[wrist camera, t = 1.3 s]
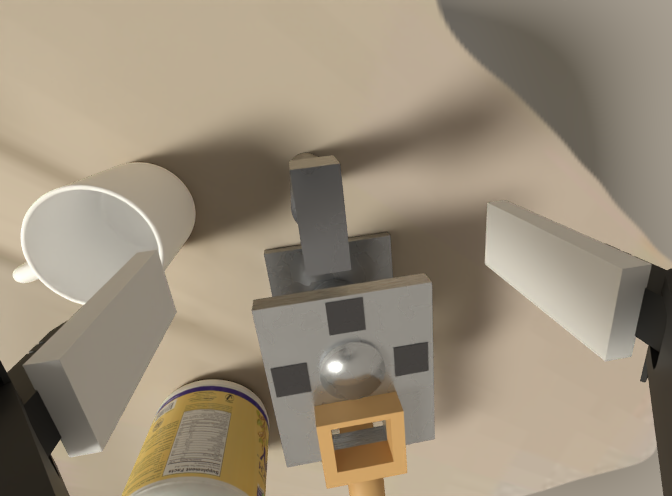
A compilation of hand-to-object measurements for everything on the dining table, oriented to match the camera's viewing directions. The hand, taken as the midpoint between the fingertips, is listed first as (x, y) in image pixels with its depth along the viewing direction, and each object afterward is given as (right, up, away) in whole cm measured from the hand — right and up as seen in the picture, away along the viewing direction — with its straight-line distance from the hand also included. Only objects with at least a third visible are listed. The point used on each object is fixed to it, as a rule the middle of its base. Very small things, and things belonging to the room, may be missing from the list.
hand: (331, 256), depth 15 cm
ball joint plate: (0, -6, +24) cm, 25 cm away
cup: (-18, +3, +18) cm, 26 cm away
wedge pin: (-3, +7, +18) cm, 20 cm away
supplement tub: (-13, -19, +27) cm, 36 cm away
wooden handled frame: (+2, -18, +20) cm, 27 cm away
